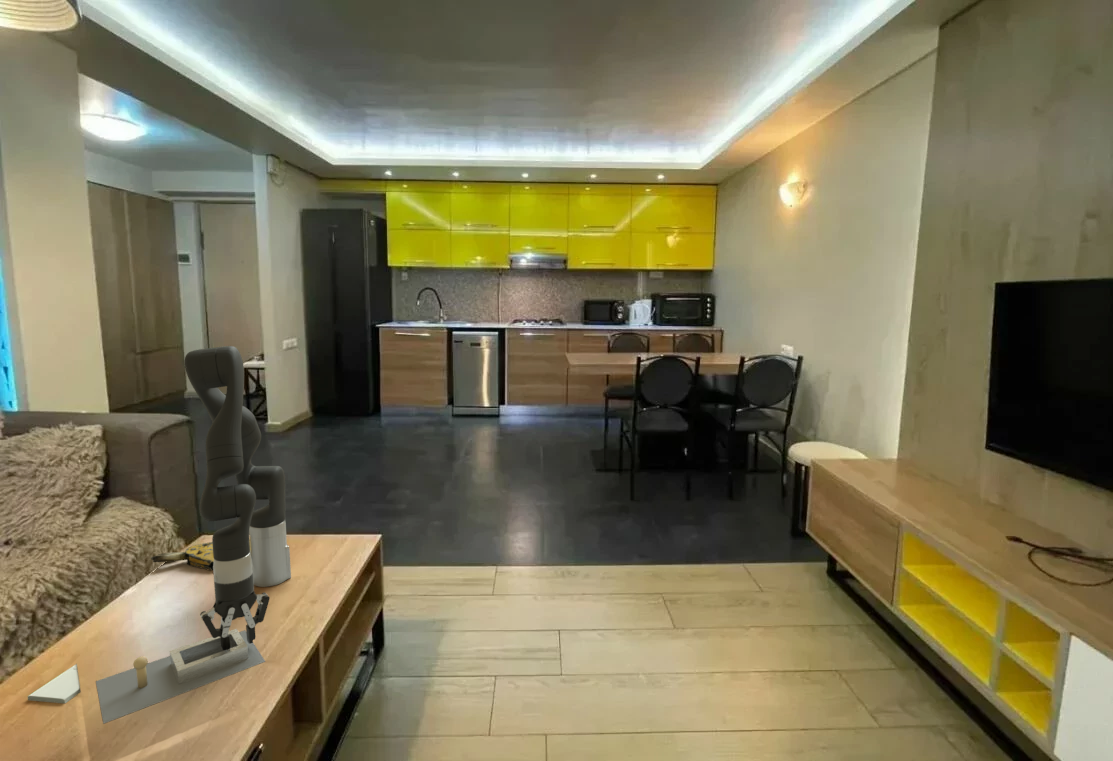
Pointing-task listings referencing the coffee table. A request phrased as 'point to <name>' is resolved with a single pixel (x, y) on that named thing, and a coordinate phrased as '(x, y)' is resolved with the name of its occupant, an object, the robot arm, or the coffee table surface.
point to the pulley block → (191, 556)
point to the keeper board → (158, 683)
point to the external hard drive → (59, 688)
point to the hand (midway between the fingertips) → (238, 645)
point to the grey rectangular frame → (208, 663)
